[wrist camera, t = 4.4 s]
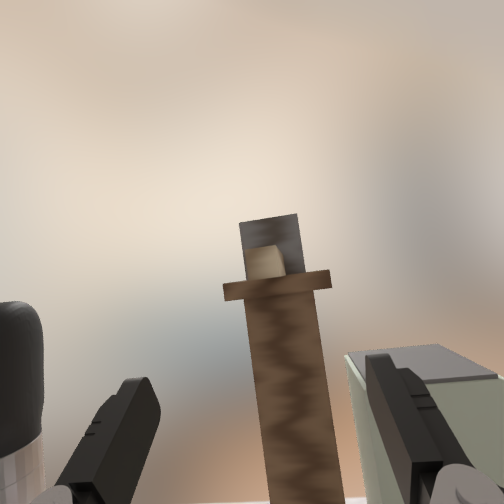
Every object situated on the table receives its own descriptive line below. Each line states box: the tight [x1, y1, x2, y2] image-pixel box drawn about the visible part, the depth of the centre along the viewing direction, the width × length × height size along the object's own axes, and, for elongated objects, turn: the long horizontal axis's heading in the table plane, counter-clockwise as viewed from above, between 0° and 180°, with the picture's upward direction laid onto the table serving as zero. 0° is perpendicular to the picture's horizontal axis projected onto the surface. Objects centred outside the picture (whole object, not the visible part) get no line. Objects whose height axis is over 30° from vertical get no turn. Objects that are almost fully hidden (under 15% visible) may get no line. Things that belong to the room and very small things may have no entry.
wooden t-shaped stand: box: [223, 270, 345, 504], centre depth 36 cm, size 12×8×32 cm, turn 82°
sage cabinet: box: [344, 344, 504, 504], centre depth 32 cm, size 12×12×21 cm
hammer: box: [239, 214, 306, 281], centre depth 32 cm, size 7×17×7 cm, turn 172°
